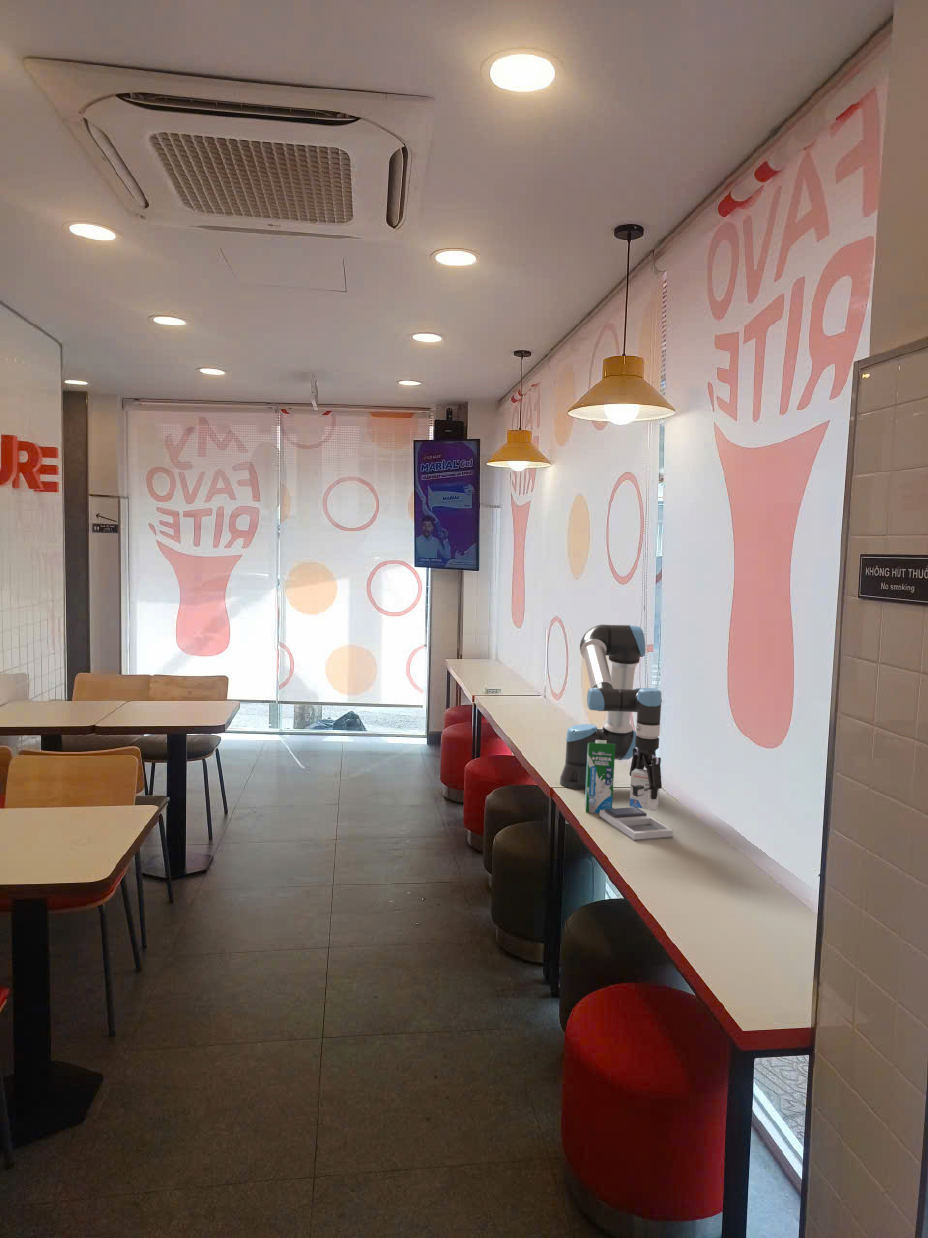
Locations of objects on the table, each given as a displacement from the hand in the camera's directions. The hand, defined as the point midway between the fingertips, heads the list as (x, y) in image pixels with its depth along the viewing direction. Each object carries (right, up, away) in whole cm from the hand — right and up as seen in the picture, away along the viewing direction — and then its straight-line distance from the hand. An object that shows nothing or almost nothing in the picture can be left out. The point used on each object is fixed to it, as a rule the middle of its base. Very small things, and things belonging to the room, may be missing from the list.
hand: (643, 803), depth 271 cm
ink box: (0, -1, 0) cm, 1 cm away
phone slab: (-4, -6, +12) cm, 13 cm away
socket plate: (-2, -9, +6) cm, 11 cm away
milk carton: (-11, -7, +23) cm, 27 cm away
